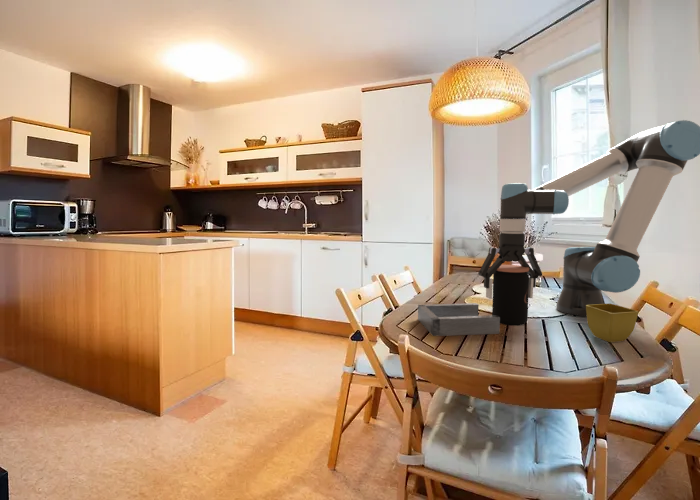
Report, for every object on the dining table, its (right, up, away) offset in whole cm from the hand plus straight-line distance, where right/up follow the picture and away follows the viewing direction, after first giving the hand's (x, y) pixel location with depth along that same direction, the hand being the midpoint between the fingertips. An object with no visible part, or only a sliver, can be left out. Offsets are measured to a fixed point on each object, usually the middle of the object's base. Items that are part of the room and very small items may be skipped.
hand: (509, 297), depth 119 cm
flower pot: (+21, -10, -17) cm, 28 cm away
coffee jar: (0, -8, +1) cm, 8 cm away
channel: (-18, -9, -4) cm, 20 cm away
